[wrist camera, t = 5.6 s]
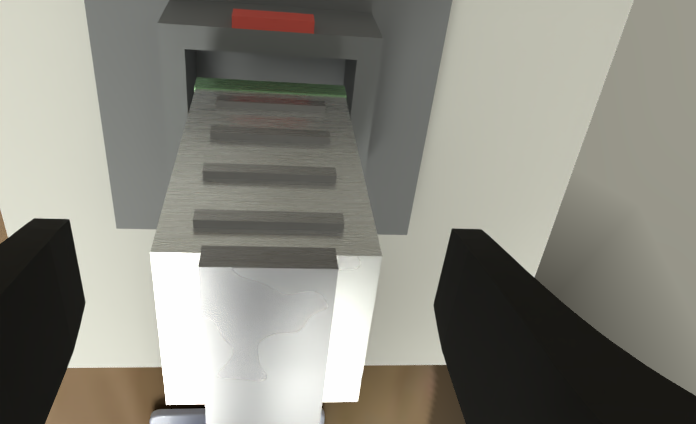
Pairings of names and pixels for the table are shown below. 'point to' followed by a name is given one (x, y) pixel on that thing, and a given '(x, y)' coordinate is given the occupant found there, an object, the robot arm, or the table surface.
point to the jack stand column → (265, 255)
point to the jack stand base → (312, 68)
